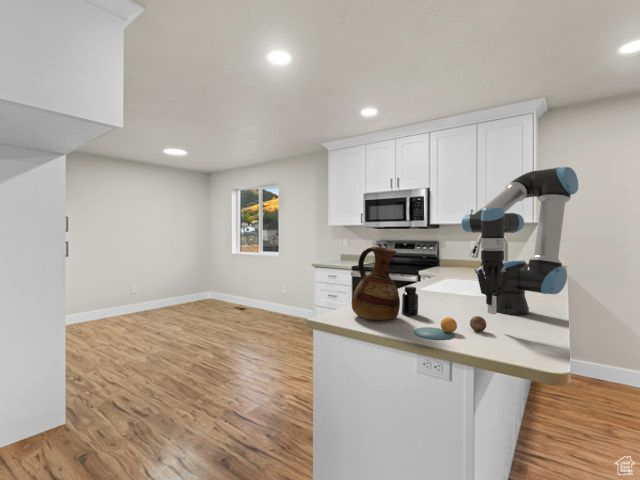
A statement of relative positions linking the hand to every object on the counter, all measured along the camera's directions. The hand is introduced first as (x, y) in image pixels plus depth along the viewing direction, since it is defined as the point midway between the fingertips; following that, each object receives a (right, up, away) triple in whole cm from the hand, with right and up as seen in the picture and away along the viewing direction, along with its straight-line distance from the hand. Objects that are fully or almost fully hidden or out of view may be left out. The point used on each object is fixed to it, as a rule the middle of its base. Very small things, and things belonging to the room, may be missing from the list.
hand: (491, 313), depth 124 cm
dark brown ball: (-6, -4, -2) cm, 7 cm away
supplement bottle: (-24, -6, +23) cm, 34 cm away
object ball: (-17, -4, -3) cm, 18 cm away
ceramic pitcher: (-40, -6, +17) cm, 44 cm away
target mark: (-23, -6, -4) cm, 24 cm away
